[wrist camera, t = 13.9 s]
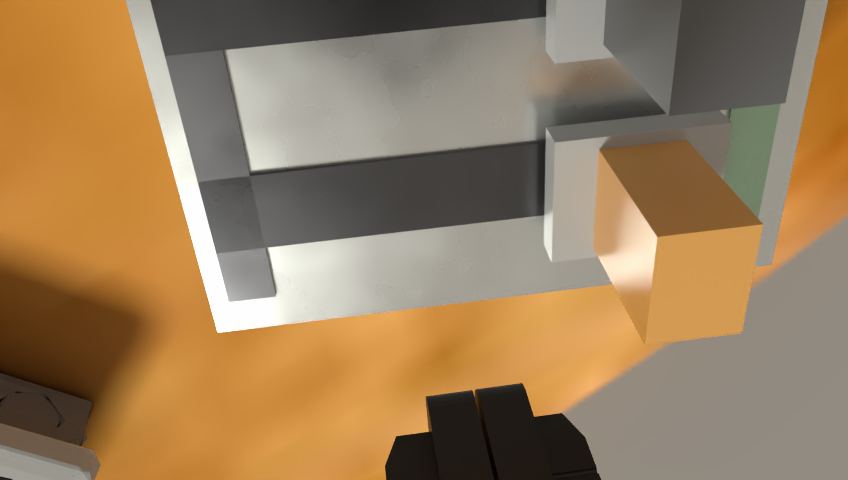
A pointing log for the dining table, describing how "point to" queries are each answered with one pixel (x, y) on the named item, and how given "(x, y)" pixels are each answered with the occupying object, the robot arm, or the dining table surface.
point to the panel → (397, 148)
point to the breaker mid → (685, 47)
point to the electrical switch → (43, 433)
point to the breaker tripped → (655, 219)
